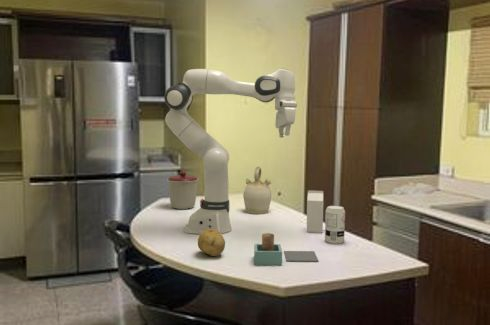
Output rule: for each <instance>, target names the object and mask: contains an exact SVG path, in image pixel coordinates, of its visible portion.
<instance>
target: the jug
mask: <svg viewBox="0 0 490 325" xmlns="http://www.w3.org/2000/svg"><path fill="white" fill-rule="evenodd" d="M253 173H254V175H253V176H254V177H253V178H254V181H251V179H248V178H246V179H245V184H246V186H245V188H244V190H243V194H242V197H243V202H244V208H245V212H246V213H248V214H251V215H264V214H268V212H269V210H270V205H271V202H272V191H271V188H270V186H269V185H271V184H272V182H271V181H270V179H267V178H265V180H264V182H263V181H261V178H262V168H261V167H260V166H256V167H255V168H254V172H253Z"/></svg>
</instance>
